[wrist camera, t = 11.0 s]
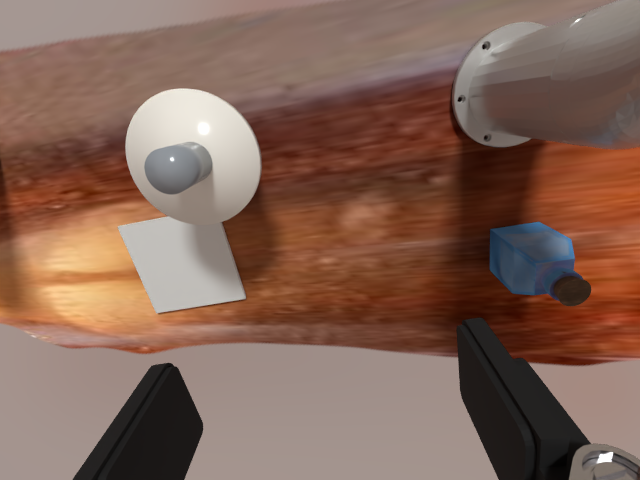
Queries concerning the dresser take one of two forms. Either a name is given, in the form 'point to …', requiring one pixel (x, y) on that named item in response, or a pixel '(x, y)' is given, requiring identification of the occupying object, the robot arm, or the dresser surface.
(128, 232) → the mat
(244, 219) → the dresser surface
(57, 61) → the dresser surface
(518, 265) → the perfume bottle
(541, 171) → the dresser surface
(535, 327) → the dresser surface
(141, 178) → the lid
